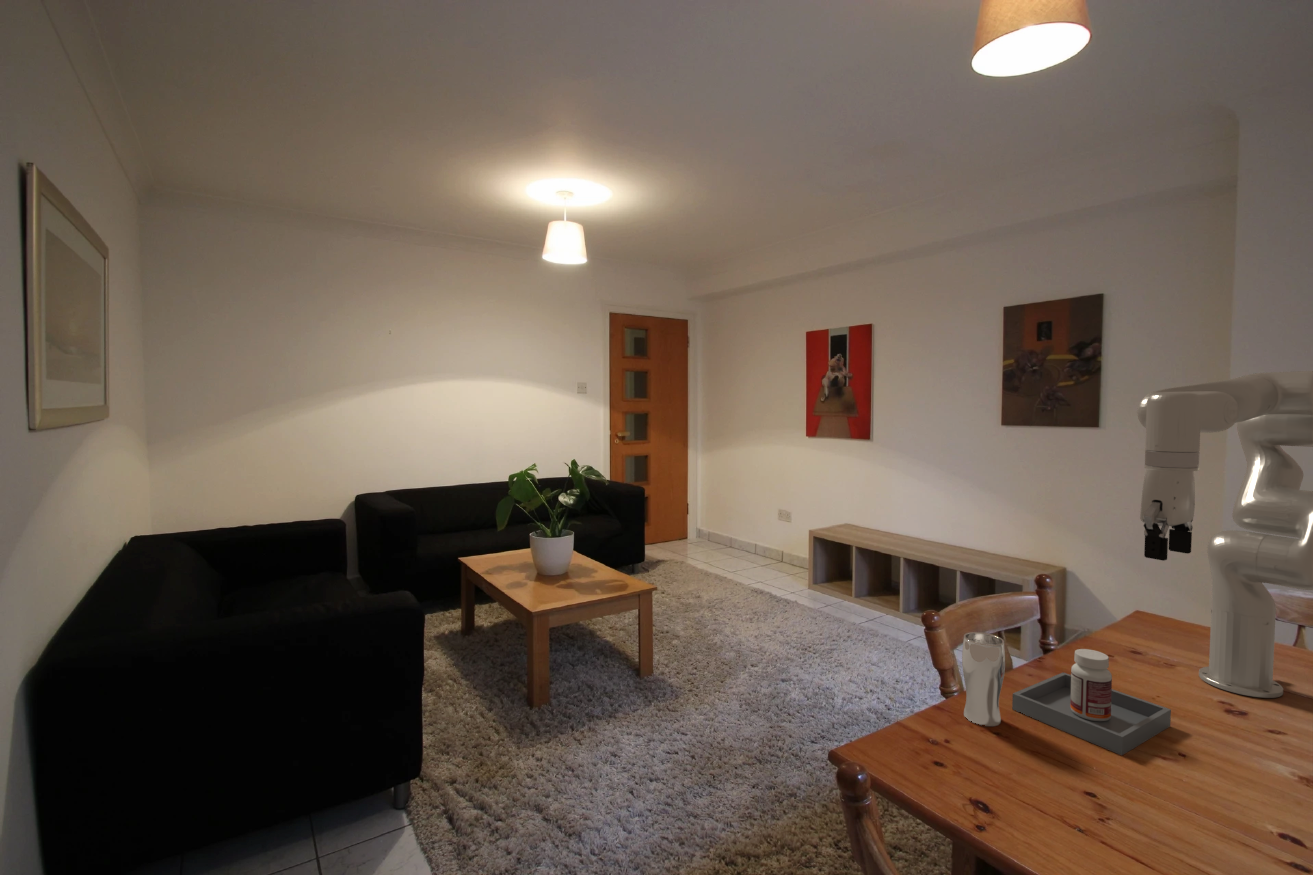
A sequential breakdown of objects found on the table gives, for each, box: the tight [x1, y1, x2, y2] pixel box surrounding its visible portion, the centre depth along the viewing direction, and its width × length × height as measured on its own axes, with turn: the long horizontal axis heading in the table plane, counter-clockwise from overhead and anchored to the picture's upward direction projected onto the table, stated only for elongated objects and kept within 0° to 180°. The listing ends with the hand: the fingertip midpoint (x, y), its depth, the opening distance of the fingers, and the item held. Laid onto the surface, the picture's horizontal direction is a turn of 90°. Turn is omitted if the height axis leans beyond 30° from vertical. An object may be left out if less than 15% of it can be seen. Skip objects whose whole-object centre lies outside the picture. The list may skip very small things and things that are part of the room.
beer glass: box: [961, 631, 1006, 727], centre depth 114 cm, size 7×7×15 cm
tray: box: [1011, 671, 1172, 756], centre depth 114 cm, size 18×18×3 cm
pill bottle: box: [1070, 648, 1113, 721], centre depth 114 cm, size 6×6×11 cm
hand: (1167, 555), depth 112 cm, fingers open, 9 cm apart
